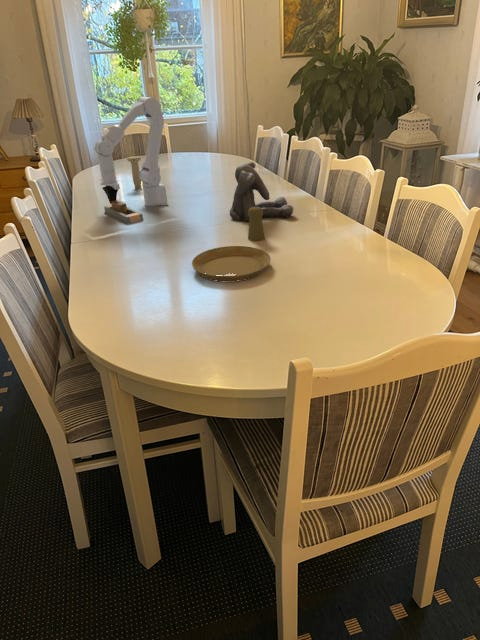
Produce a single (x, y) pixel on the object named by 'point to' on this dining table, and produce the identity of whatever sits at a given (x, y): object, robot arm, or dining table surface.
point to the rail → (130, 218)
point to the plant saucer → (231, 263)
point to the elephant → (245, 196)
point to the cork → (255, 224)
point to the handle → (135, 170)
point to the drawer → (119, 206)
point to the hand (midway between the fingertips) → (113, 203)
